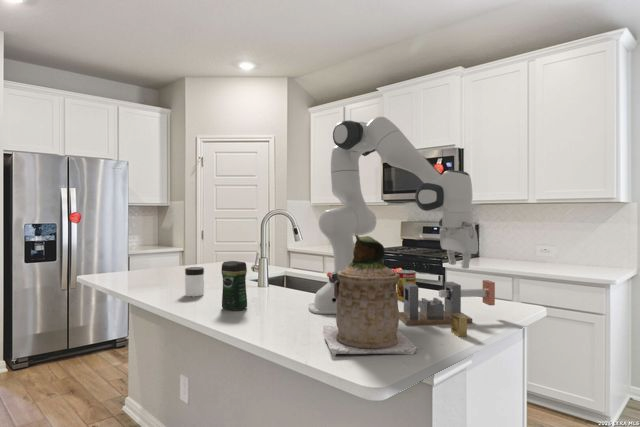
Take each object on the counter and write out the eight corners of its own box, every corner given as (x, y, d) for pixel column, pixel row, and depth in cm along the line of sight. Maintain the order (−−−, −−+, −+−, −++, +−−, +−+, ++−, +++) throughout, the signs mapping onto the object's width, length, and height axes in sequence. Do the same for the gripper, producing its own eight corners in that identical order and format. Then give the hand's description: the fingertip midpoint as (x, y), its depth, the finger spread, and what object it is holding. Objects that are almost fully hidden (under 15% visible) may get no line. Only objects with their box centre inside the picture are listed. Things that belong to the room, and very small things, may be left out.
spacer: (458, 337, 135) (458, 318, 135) (451, 332, 141) (451, 313, 141) (466, 337, 135) (466, 317, 135) (458, 331, 141) (458, 312, 141)
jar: (203, 296, 197) (203, 269, 197) (184, 297, 195) (184, 270, 195) (204, 292, 206) (204, 266, 206) (186, 293, 204) (185, 267, 204)
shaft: (442, 306, 154) (442, 283, 153) (437, 303, 159) (437, 281, 158) (494, 305, 156) (494, 282, 155) (487, 302, 161) (487, 279, 160)
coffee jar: (250, 307, 175) (250, 260, 175) (237, 312, 168) (236, 263, 168) (232, 305, 180) (231, 259, 180) (218, 309, 173) (217, 261, 173)
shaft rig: (406, 325, 149) (406, 288, 148) (396, 316, 161) (396, 281, 160) (472, 323, 151) (472, 286, 151) (457, 314, 163) (457, 280, 163)
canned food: (407, 302, 183) (407, 273, 183) (392, 299, 189) (392, 271, 189) (419, 299, 188) (419, 271, 188) (404, 296, 194) (404, 269, 194)
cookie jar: (420, 355, 120) (420, 236, 119) (329, 358, 118) (328, 237, 117) (397, 329, 144) (396, 230, 144) (321, 331, 142) (320, 231, 142)
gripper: (483, 222, 129) (484, 270, 129) (454, 221, 149) (455, 262, 149) (462, 222, 128) (463, 271, 128) (436, 221, 148) (436, 262, 149)
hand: (458, 266), depth 139 cm, fingers open, 8 cm apart
